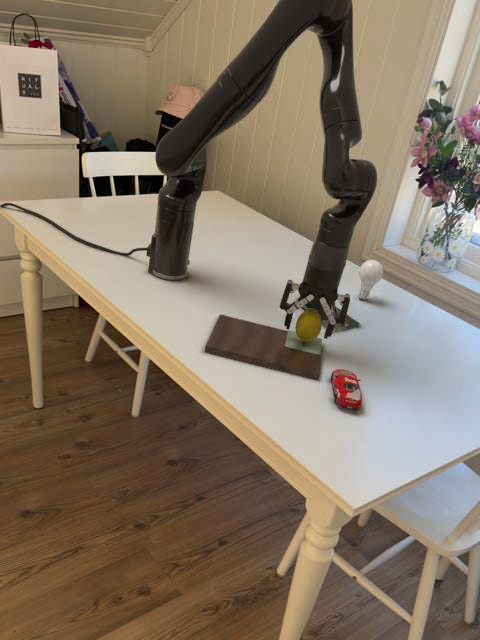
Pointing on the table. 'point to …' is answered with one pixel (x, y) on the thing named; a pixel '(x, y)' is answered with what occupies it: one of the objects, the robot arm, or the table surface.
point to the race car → (346, 389)
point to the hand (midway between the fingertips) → (306, 332)
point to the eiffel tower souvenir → (348, 321)
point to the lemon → (308, 325)
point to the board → (265, 346)
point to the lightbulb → (369, 277)
